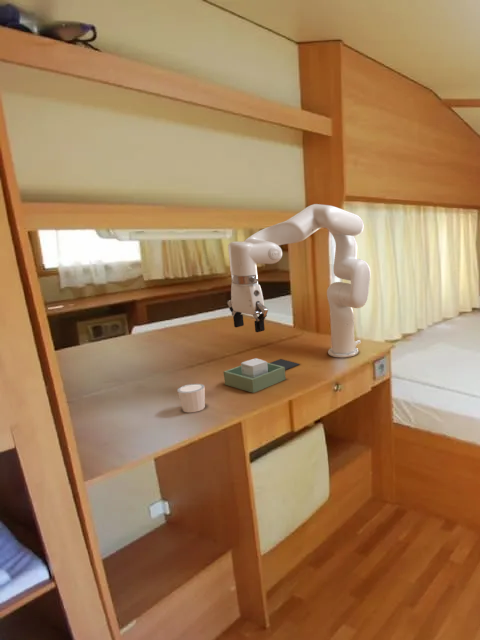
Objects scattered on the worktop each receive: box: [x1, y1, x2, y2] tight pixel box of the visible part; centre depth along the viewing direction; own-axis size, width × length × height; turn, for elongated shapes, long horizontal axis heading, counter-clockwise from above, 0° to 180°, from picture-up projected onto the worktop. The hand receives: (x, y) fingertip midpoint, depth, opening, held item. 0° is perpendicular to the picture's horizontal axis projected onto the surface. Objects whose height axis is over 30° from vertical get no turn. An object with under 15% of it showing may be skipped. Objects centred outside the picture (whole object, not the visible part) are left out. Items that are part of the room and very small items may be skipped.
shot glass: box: [176, 383, 206, 413], centre depth 131 cm, size 7×7×7 cm
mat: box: [270, 358, 300, 371], centre depth 168 cm, size 10×10×1 cm
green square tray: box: [223, 362, 287, 394], centre depth 153 cm, size 14×14×5 cm
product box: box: [240, 357, 268, 379], centre depth 152 cm, size 6×6×7 cm
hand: (249, 328), depth 146 cm, fingers open, 9 cm apart
